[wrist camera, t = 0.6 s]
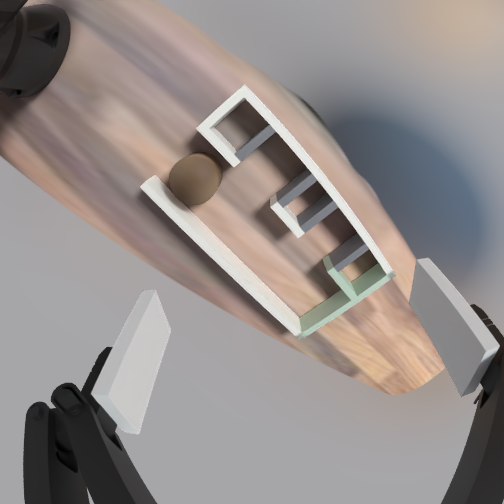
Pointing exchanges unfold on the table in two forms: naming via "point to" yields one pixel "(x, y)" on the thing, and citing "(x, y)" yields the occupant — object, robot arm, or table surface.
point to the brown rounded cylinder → (195, 178)
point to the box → (298, 225)
